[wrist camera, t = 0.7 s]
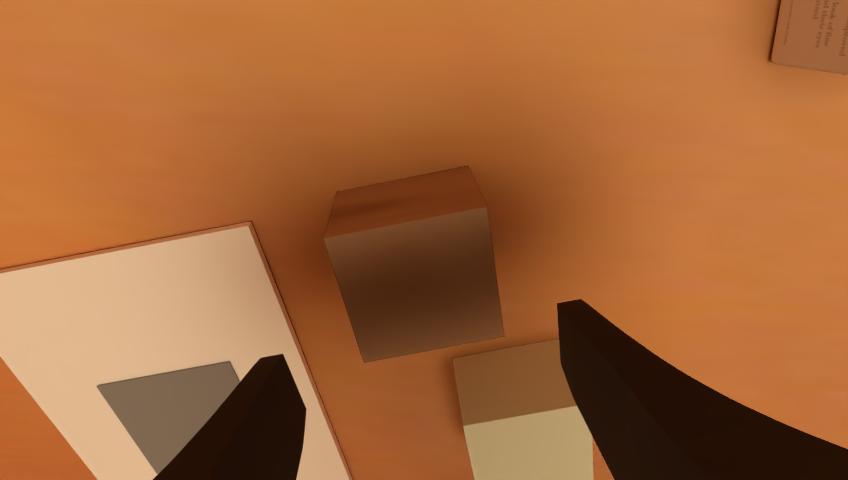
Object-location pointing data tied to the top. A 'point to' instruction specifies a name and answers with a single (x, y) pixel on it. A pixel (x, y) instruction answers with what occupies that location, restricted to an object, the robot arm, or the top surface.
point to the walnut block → (415, 264)
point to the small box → (812, 35)
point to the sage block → (522, 415)
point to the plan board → (153, 347)
